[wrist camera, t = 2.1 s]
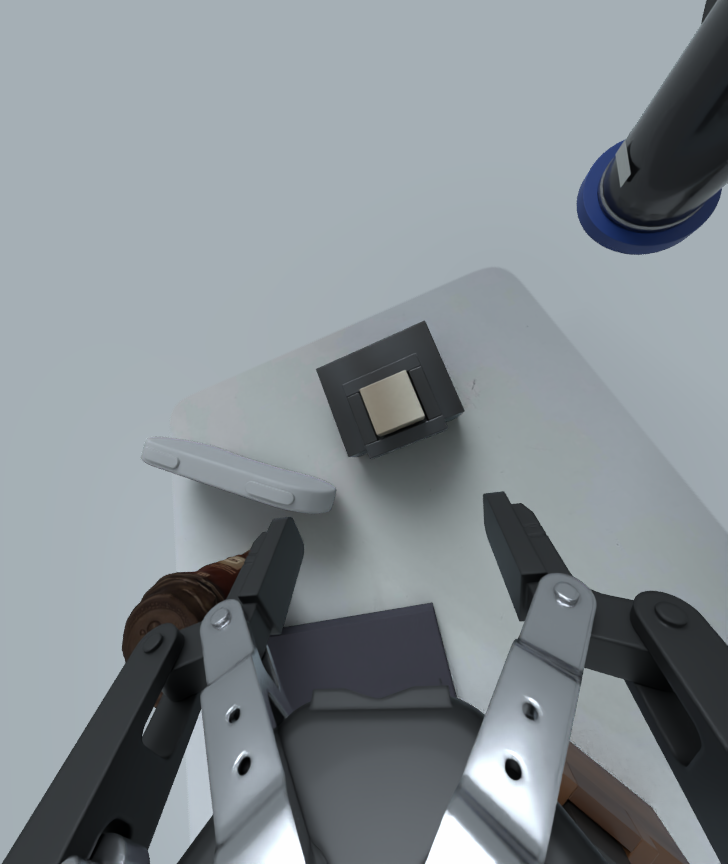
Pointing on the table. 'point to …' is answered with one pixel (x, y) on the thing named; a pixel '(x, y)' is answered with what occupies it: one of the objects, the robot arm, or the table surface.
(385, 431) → the ivory key
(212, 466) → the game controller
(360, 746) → the robot arm
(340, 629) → the notebook
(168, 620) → the coffee cup
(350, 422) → the key block
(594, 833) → the ebony key
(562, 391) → the table surface
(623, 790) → the key block
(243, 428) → the table surface
